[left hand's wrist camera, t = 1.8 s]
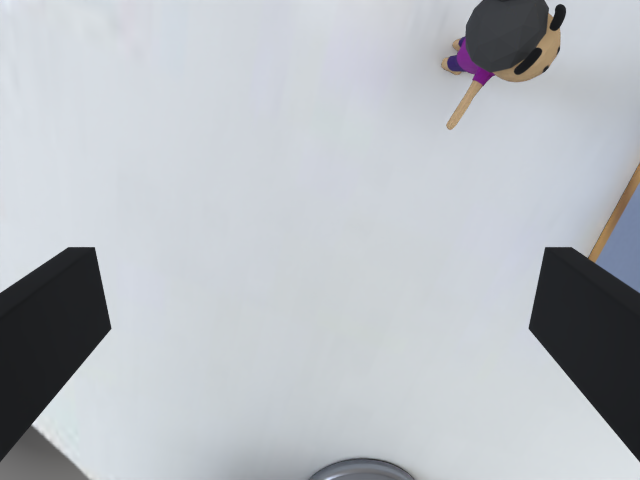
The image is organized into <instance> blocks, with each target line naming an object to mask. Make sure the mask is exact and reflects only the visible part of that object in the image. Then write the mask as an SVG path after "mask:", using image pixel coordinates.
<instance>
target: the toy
mask: <svg viewBox="0 0 640 480" xmlns="http://www.w3.org/2000/svg"><path fill="white" fill-rule="evenodd" d="M548 12H549V7H548V6H547V4H546V2H545V1H544V0H483V1H482V2H481V3H480V4H479V5H478V6H477V7H476V8H475V9H474V10H473V12H472V14H471V16H470V18H469V20H468V22H467V24H466V36H465V37H463V38H460V39H458V40H456V41H455V42H454V43H453V47H454V48H455V49H456V50H457V51H458V53H457V55H455V56H450V57H448V58H445V59H443V61H442V64H441V65H442V68H443V69H445V70H447V71H449V72H451V73H453V74H455V75H459V74H460V73H461V72H468V73H471V74H475V75H474V77H473V82H472V84H471V86H470V87H469V89H468V91H467V93H466V94H465V96H464V97H463V99H462V101H461V102H460V104H459V105H458V107H457V108H456V110H455V112H454V113H453V115H452V116H451V118H450V120H449V121H448V123H447V125H446V126H447V128H448V129H449V130H451V129H453V128H454V127H455V126H456V125H457V123H458V122H459V120H460V119H461V117H462V115H463V114H464V112H465V111H466V109H467V108H468V106H469V105H470V103H471V101H472V99H473V98H474V96H475V95H476V93H477V92H478V91H479V90H480V89H481V87H482V86H484V85H485V83H486V82H487V81H488V80H489V79H490V78H491V77H492V76H494V75H496V76H498V77H500V78H501V79H504V80H506V81H510V82H523V81H527V80H530V79H532V78H534V77H536V76H538V75H540V74H542V73H544V72H545V71H546V70H547V69H548V68H549V66H550V65H551V63H552V62H553V60H554V59H555V57H556V56H557V54H558V52H559V50H560V26H561V25H562V22H563V20H564V18H565V15H566V8H565V6H564V5H562V4H559V5H557V6H556V8H555V15H554V17H552V16H551V15H550V14H549V13H548Z"/></svg>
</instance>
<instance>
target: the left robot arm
mask: <svg viewBox="0 0 640 480" xmlns="http://www.w3.org/2000/svg"><path fill="white" fill-rule="evenodd" d="M110 330H111V324H110V319H109V314H108V310H107V305H106V300H105V295H104V290H103V285H102V280H101V275H100V271H99V266H98V261H97V256H96V251H95V247H68V248H67V249H65V250H64V251H62V252H61V253H59V254H58V255H56V256H55V257H53V258H52V259H50V260H49V261H47V262H46V263H44V264H43V265H41V266H40V267H38V268H37V269H35V270H34V271H32V272H31V273H29V274H28V275H26V276H25V277H23V278H22V279H20V280H19V281H17V282H16V283H15V284H13V285H12V286H10V287H9V288H7V289H6V290H4V291H3V292H1V293H0V462H1V460H2V459H3V458H4V457H5V456H6V454H7V453H8V452H9V451H10V450H11V448H12V447H13V446H14V445H15V444H16V442H17V441H18V440H19V439H20V438H21V436H22V435H23V434H24V433H25V432H26V430H27V429H28V428H29V427H30V426H31V424H32V423H33V422H34V421H35V420H36V418H37V417H38V416H39V415H40V414H41V412H42V411H43V410H44V409H45V408H46V406H47V405H48V404H49V403H50V402H51V400H52V399H53V398H54V397H55V396H56V394H57V393H58V392H59V391H60V390H61V388H62V387H63V386H64V385H65V384H66V382H67V381H68V380H69V379H70V378H71V376H72V375H73V374H74V373H75V372H76V370H77V369H78V368H79V367H80V366H81V364H82V363H83V362H84V361H85V360H86V358H87V357H88V356H89V355H90V354H91V352H92V351H93V350H94V349H95V348H96V346H97V345H98V344H99V343H100V342H101V340H102V339H103V338H104V337H105V336H106V335H107V333H108V332H109V331H110ZM529 330H530V331H531V332H532V333H533V335H534V336H535V337H536V338H537V339H538V341H539V342H540V343H541V344H542V345H543V346H544V348H545V349H546V350H547V351H548V352H549V354H550V355H551V356H552V357H553V358H554V360H555V361H556V362H557V363H558V364H559V366H560V367H561V368H562V369H563V370H564V372H565V373H566V374H567V375H568V376H569V378H570V379H571V380H572V381H573V382H574V384H575V385H576V386H577V387H578V388H579V390H580V391H581V392H582V393H583V394H584V396H585V397H586V398H587V399H588V400H589V402H590V403H591V404H592V405H593V406H594V408H595V409H596V410H597V411H598V412H599V414H600V415H601V416H602V417H603V418H604V420H605V421H606V422H607V423H608V424H609V426H610V427H611V428H612V429H613V430H614V432H615V433H616V434H617V435H618V436H619V438H620V439H621V440H622V441H623V442H624V444H625V445H626V446H627V447H628V448H629V450H630V451H631V452H632V453H633V454H634V456H635V457H636V458H637V459H638V460H639V462H640V293H639V292H637V291H636V290H634V289H633V288H631V287H630V286H628V285H627V284H625V283H624V282H623V281H621V280H620V279H618V278H617V277H615V276H614V275H612V274H611V273H609V272H608V271H606V270H605V269H603V268H602V267H600V266H599V265H597V264H596V263H594V262H593V261H591V260H590V259H588V258H587V257H585V256H584V255H582V254H581V253H579V252H578V251H576V250H575V249H573V248H572V247H545V251H544V256H543V261H542V266H541V271H540V275H539V280H538V285H537V290H536V295H535V300H534V305H533V310H532V314H531V319H530V324H529ZM309 480H414V479H413V478H412V477H411V476H410V475H409V474H408V473H406V472H405V471H404V470H402V469H400V468H398V467H396V466H394V465H392V464H389V463H386V462H382V461H377V460H368V459H358V460H348V461H343V462H339V463H336V464H333V465H330V466H328V467H326V468H324V469H322V470H320V471H319V472H317V473H316V474H315V475H313V476H312V477H311V478H310V479H309Z"/></svg>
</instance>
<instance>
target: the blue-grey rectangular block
mask: <svg viewBox="0 0 640 480" xmlns="http://www.w3.org/2000/svg"><path fill="white" fill-rule="evenodd" d="M588 259H590V260H591V261H593V262H594V263H596V264H597V265H599V266H600V267H602V268H603V269H605V270H606V271H608V272H609V273H611V274H612V275H614V276H615V277H617V278H618V279H620V280H621V281H623V282H624V283H625V284H627V285H628V286H630V287H631V288H633V289H634V290H636V291H637V292H639V293H640V164H639V166H638V167H637V169H636V171H635V173H634V175H633V177H632V179H631V180H630V182H629V184H628V186H627V188H626V190H625V191H624V193H623V195H622V197H621V199H620V201H619V202H618V204H617V206H616V208H615V210H614V212H613V213H612V215H611V217H610V219H609V221H608V223H607V224H606V226H605V228H604V230H603V232H602V234H601V235H600V237H599V239H598V241H597V243H596V245H595V246H594V248H593V250H592V252H591V254H590V256H589V257H588Z"/></svg>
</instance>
